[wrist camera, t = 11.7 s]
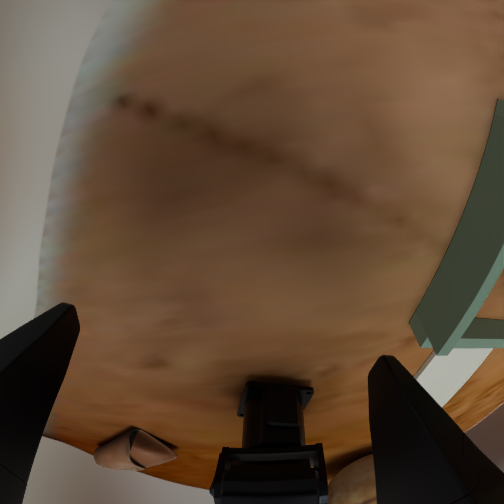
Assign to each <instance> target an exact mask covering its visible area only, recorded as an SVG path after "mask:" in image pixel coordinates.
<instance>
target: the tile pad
mask: <svg viewBox="0 0 504 504" xmlns="http://www.w3.org/2000/svg"><path fill="white" fill-rule="evenodd" d="M492 349H493V348H453V349H452V351H451V352H450V353H449V355H448V356H436V353H435V351H433V352H432V353H431V355H430V356H429V357H428V359H427V360H426V362H425V363H424V364H423V365H422V367H421V368H420V369H419V371H418V372H417V373H416V374H415V376H414V378H415V379H416V380H417V381H418V382H419V383H420V384H421V386H422V387H423V388H424V389H425V390H426V391H427V392H428V393H429V394H430V395H431V396H432V397H433V399H434V400H435V401H436V402H437V403H438V404H439V405H440V406H441V407H443V406H444V405H445V404H446V403H447V402H448V401H449V400H450V398H451V397H452V396H453V395H454V394H455V393H456V392H457V391H458V390H459V389H460V388H461V387H462V386H463V384H464V383H465V382H466V381H467V380H468V379H469V378H470V376H471V375H472V374H473V373H474V372H475V371H476V369H477V368H478V367H479V366H480V365H481V363H482V362H483V361H484V360H485V358H486V357H487V356H488V354H489V353H490V352H491V351H492Z"/></svg>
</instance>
